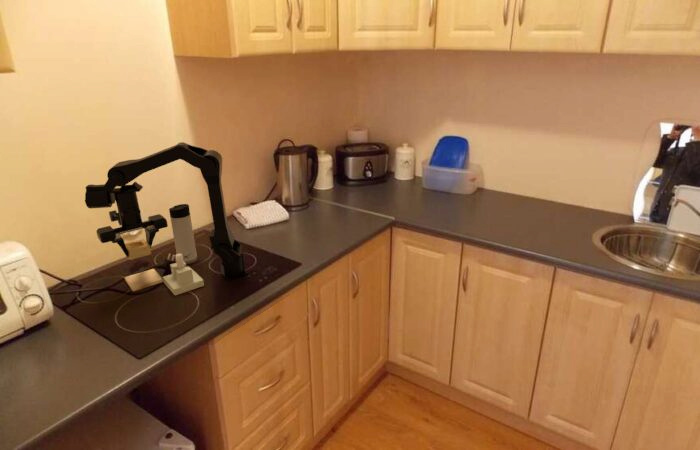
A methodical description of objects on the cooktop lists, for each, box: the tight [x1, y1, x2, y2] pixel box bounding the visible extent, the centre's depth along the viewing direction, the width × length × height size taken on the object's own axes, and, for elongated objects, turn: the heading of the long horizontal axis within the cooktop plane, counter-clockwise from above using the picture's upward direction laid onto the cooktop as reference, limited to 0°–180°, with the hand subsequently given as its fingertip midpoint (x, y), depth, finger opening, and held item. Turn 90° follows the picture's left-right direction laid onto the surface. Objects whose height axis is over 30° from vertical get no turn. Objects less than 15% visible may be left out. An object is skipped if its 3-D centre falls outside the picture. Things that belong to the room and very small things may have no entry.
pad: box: [123, 268, 164, 292], centre depth 145 cm, size 9×9×1 cm
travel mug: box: [168, 203, 198, 265], centre depth 154 cm, size 6×7×20 cm
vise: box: [162, 253, 205, 296], centre depth 141 cm, size 9×10×10 cm
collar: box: [125, 238, 152, 260], centre depth 141 cm, size 6×6×3 cm
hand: (138, 253), depth 141 cm, fingers closed on collar, 6 cm apart
